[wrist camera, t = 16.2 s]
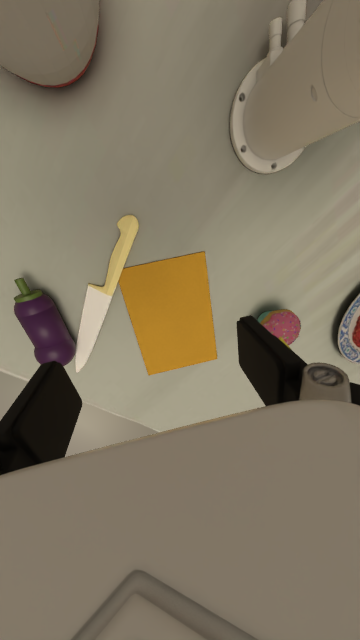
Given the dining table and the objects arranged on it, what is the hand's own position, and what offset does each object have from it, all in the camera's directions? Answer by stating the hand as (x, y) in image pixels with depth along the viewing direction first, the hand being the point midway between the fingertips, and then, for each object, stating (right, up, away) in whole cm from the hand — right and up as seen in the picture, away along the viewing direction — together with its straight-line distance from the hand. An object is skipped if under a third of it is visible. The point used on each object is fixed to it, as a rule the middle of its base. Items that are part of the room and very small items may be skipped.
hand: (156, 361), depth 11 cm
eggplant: (-22, +3, +27) cm, 35 cm away
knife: (-14, +5, +27) cm, 31 cm away
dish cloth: (0, +2, +31) cm, 31 cm away
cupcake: (+20, +2, +34) cm, 40 cm away
